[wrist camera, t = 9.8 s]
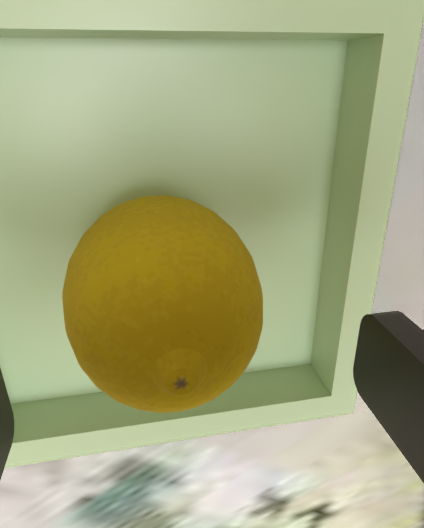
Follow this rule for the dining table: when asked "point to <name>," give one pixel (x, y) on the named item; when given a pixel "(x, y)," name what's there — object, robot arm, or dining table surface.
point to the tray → (199, 188)
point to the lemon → (162, 304)
